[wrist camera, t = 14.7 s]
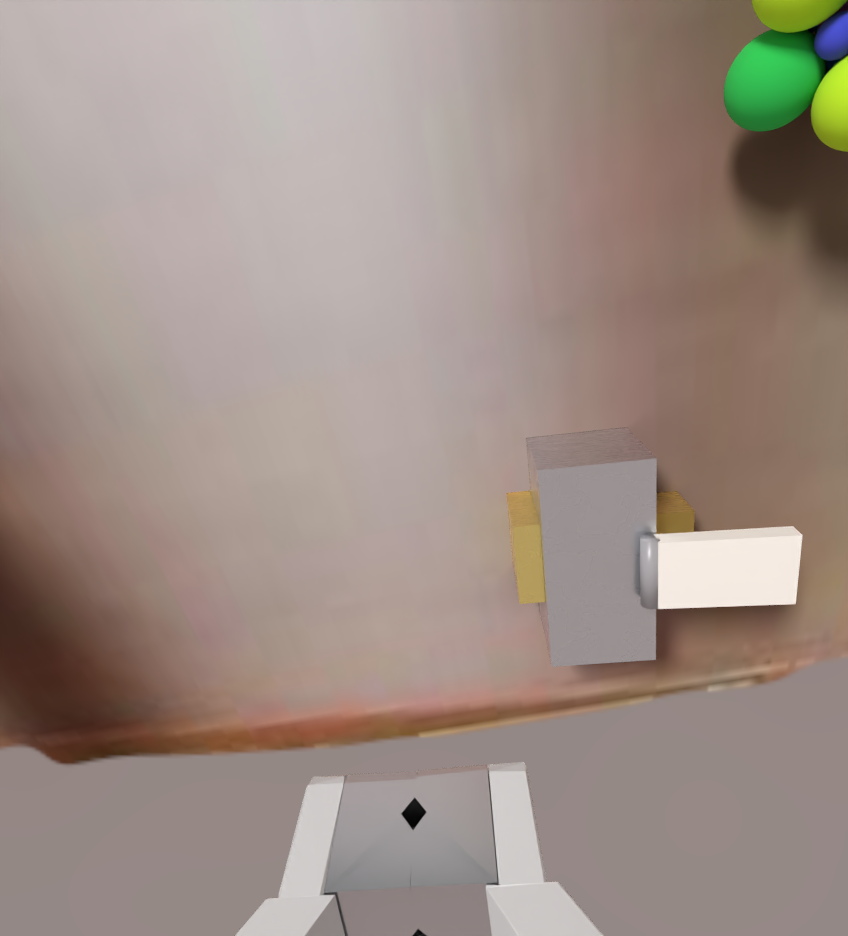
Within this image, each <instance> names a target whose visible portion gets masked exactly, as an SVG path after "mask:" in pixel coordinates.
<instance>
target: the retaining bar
mask: <svg viewBox="0 0 848 936" xmlns="http://www.w3.org/2000/svg"><path fill="white" fill-rule="evenodd" d="M801 544H802V534H801V533H799V532H798V531H797V530H796V529H795V528H794V527H793V526H790V527H772V528H755V529H738V530H720V531H703V532H686V533H668V534H654V535H643V536H641V537H640V604H641V606H642V607H644V608H646V609H657V608H658V609H674V608H701V607H729V606H756V605H783V604H796V595H797V585H798V575H799V565H800V555H801Z"/></svg>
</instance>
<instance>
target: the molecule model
mask: <svg viewBox="0 0 848 936" xmlns="http://www.w3.org/2000/svg"><path fill="white" fill-rule="evenodd" d="M752 5H753V8H754V11H755V13H756V15H757V17H758V18H759V19H760V21H761V22H762V23H763V24H765V25H766V26H767V27H769V28H771V29H772V30H769V31H767V32H765V33H763V34H761V35H759V36H758V37H756V38H755V39H753V40H752V41H751V42H750V43H749V44H747V45H746V46H745V47H744V48H743V49H742V51H741V52H740V53H739V54H738V56H737V57H736V58H735V60H734V62H733V63H732V65H731V67H730V69H729V72H728V74H727V77H726V81H725V86H724V103H725V107H726V110H727V112H728V114H729V116H730V117H731V118H732V120H733V121H734V122H735V123H736V124H738V125H739V126H741V127H742V128H745V129H747V130H751V131H770V130H774V129H777V128H780V127H782V126H784V125H786V124H788V123H790V122H791V121H793V120H794V119H796V118H797V117H798V116H799V115H801V114H802V113H803V112H804V111H805V110H806V109H807V108H808V107H809V105H810V104H811V103H812V107H811V122H812V126H813V129H814V131H815V133H816V135H817V136H818V138H819V139H820V140H821V141H822V142H823V143H824V144H826V145H827V146H829V147H831V148H833V149H836V150H839V151H846V152H848V0H752Z"/></svg>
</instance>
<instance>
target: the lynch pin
mask: <svg viewBox="0 0 848 936" xmlns="http://www.w3.org/2000/svg"><path fill="white" fill-rule="evenodd" d="M506 494H507V505H508V516H509V527H510V538H511V549H512V560H513V567H514V573H515V579H516V585H517V591H518V597H519V603H520V604H524V603H537V602H545V588H544V574H543V560H542V546H541V532H540V523H539V520H538V516H537V513H536V509H535V506H534V502H533V499H532V495H531V492H530V491H522V492H512V493H506ZM686 532H694V510H693V509H692V508H691V506H690V505H689V504H688V503H687V502H686V501H685V500H684V499H683V498H682V497H681V496H680V495H679V493H678V492H677V491H674V492H664V493H656V534H668V533H686Z"/></svg>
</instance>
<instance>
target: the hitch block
mask: <svg viewBox="0 0 848 936" xmlns="http://www.w3.org/2000/svg"><path fill="white" fill-rule="evenodd" d="M526 441H527V454H528V467H529V480H530V492H531V495H532V499H533V502H534V506H535V509H536V513H537V516H538V520H539V523H540V532H541V546H542V560H543V574H544V588H545V602H539V610H540V615H541V620H542V625H543V629H544V634H545V638H546V643H547V648H548V652H549V657H550V661H551V666H552V667H554V666H569V665H585V664H600V663H615V662H630V661H646V660H656V609H646V608H644V607H642V606H641V604H640V537H641V536H643V535H654V534H656V479H657V458H656V457H655V456H654V455H653V454H652V453H651V452H650V451H649V450H648V449H647V448H646V447H645V446H644V445H643V444H642V443H641V442H640V441H639V440H638V439H637V438H636V437H635V436H634V435H633V434H632V432H631V431H630V430H629V429H628V428H627V427H626V428H616V429H607V430H598V431H588V432H579V433H570V434H560V435H551V436H542V437H533V438H526Z"/></svg>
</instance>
